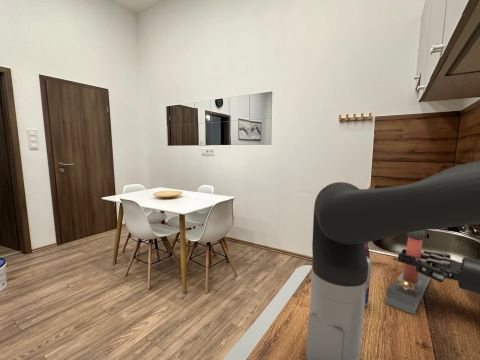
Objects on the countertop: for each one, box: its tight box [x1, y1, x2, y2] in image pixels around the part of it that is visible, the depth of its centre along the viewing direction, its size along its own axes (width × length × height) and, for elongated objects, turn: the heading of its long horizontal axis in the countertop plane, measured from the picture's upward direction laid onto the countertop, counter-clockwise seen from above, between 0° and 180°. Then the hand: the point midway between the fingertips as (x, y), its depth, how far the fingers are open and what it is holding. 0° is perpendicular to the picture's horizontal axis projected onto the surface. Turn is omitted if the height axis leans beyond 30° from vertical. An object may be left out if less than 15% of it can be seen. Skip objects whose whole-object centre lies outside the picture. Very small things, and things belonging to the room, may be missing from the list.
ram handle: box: [396, 230, 426, 292], centre depth 66 cm, size 5×5×17 cm
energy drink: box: [364, 256, 373, 309], centre depth 62 cm, size 5×5×12 cm
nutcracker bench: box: [385, 271, 431, 316], centre depth 68 cm, size 22×6×6 cm, turn 135°
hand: (400, 254), depth 68 cm, fingers closed on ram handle, 3 cm apart
